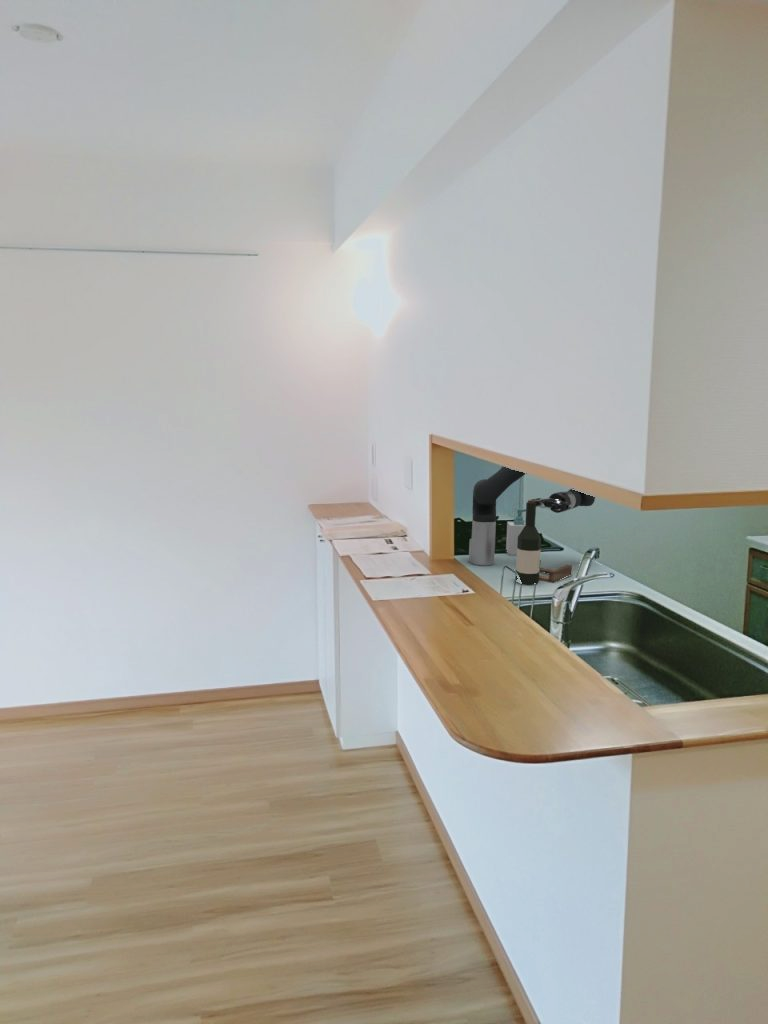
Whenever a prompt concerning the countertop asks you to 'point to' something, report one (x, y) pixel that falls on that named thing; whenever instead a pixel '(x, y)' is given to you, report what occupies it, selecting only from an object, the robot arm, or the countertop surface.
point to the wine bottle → (529, 548)
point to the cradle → (555, 573)
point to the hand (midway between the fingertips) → (541, 506)
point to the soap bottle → (514, 532)
